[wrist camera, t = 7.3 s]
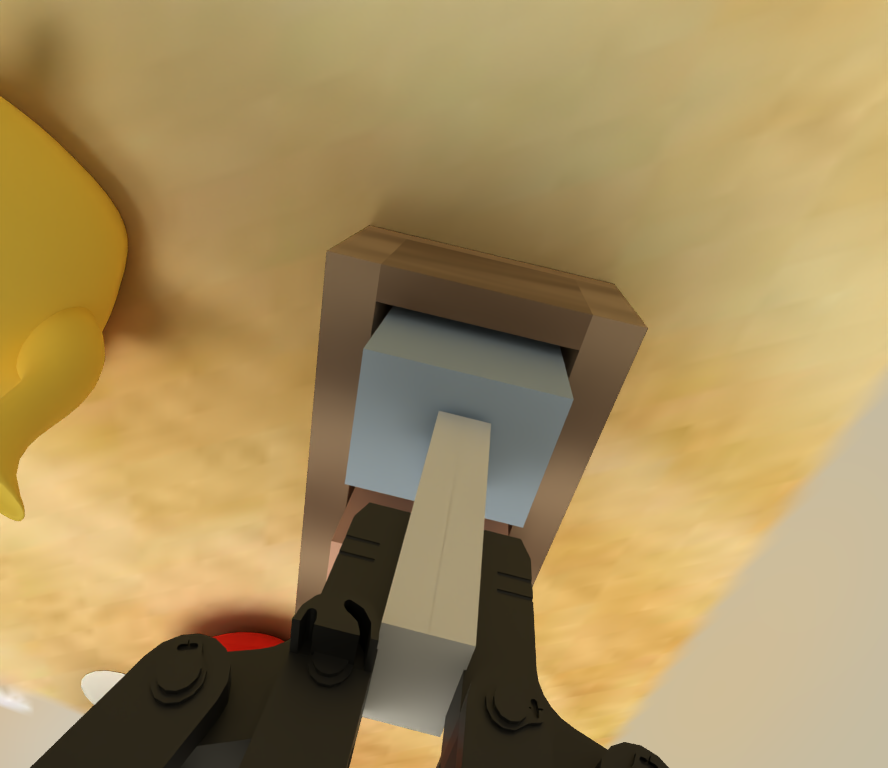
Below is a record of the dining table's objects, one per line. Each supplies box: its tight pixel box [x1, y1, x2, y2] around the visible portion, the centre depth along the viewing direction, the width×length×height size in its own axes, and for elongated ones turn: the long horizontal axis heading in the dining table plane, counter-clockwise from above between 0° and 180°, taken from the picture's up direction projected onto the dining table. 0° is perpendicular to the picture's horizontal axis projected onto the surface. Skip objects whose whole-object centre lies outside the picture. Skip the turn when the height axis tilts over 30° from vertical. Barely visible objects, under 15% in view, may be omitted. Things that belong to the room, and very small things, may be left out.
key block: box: [295, 225, 648, 614], centre depth 21 cm, size 21×10×5 cm, turn 168°
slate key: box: [345, 306, 574, 528], centre depth 16 cm, size 5×6×5 cm
